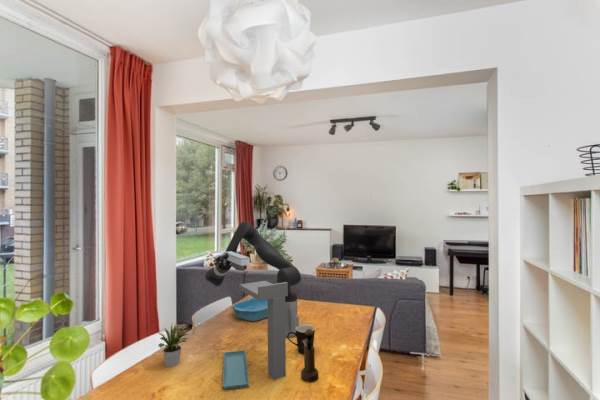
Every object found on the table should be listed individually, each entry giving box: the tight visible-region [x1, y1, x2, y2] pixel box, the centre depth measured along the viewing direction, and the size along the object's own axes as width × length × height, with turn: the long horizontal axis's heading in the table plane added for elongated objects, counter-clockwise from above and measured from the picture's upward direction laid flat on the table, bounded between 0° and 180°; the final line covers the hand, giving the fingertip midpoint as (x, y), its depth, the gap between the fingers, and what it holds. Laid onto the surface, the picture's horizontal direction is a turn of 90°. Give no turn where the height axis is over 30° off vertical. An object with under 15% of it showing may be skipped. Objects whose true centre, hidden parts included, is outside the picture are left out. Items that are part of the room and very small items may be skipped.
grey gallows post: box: [238, 280, 288, 381], centre depth 128 cm, size 20×12×35 cm, turn 32°
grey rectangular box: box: [222, 251, 251, 267], centre depth 153 cm, size 24×4×3 cm, turn 32°
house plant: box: [157, 322, 189, 368], centre depth 130 cm, size 14×14×16 cm
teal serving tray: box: [222, 349, 250, 391], centre depth 125 cm, size 26×9×2 cm, turn 13°
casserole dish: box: [231, 297, 268, 322], centre depth 194 cm, size 37×22×7 cm, turn 143°
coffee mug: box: [286, 324, 316, 356], centre depth 142 cm, size 12×9×10 cm
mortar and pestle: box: [300, 329, 319, 383], centre depth 120 cm, size 7×6×18 cm
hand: (232, 254), depth 157 cm, fingers closed on grey rectangular box, 4 cm apart
